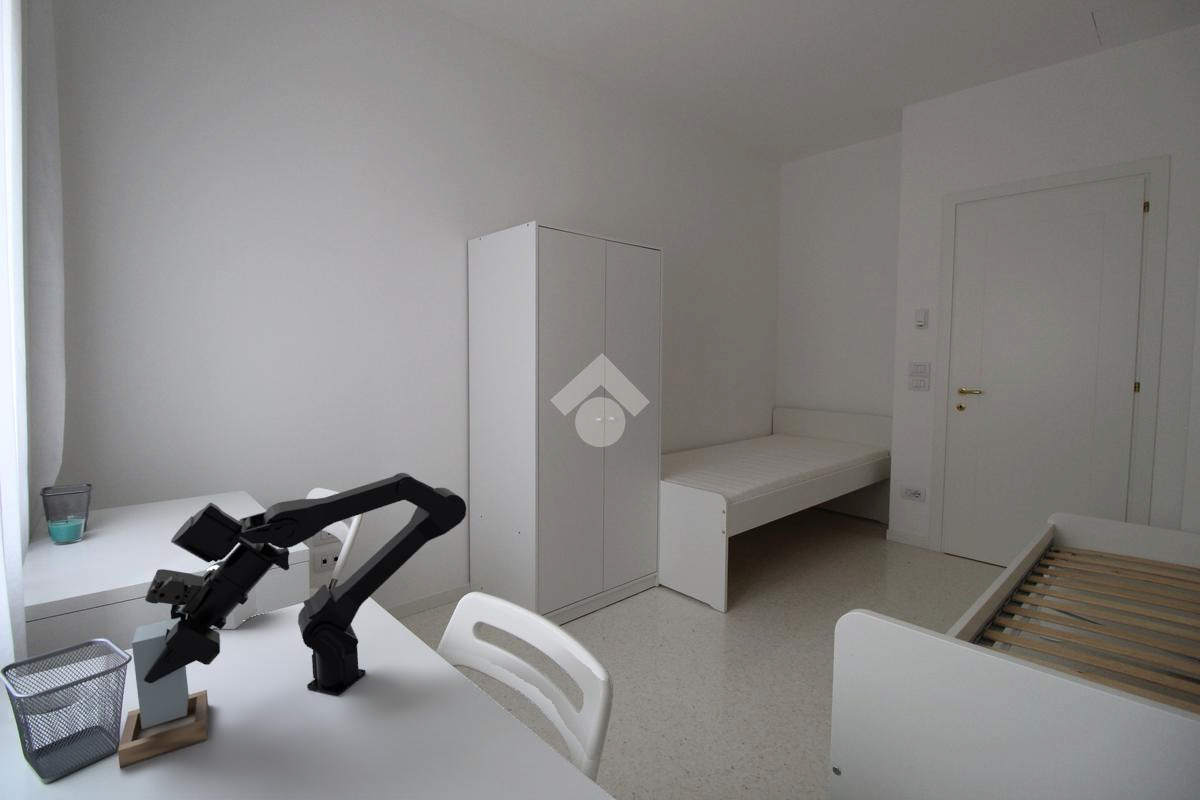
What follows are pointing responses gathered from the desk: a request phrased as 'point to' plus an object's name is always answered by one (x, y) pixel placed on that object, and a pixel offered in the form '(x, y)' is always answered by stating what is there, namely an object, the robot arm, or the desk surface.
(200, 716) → the walnut socket
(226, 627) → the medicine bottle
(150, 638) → the grey key block
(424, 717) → the desk surface
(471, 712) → the desk surface
